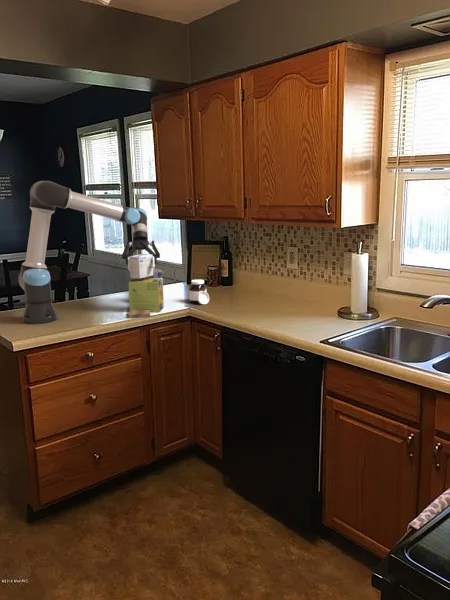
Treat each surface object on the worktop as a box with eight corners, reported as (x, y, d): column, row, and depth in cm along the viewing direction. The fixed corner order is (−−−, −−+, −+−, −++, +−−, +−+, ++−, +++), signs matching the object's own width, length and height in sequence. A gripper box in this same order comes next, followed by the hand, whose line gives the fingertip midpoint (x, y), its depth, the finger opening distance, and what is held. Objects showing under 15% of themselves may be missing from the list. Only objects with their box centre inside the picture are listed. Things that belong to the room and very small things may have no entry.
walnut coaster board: (128, 317, 250) (128, 314, 250) (129, 313, 258) (128, 310, 257) (149, 316, 251) (149, 313, 251) (149, 312, 259) (149, 309, 259)
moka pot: (158, 305, 275) (157, 267, 270) (135, 302, 282) (134, 265, 278) (169, 301, 283) (168, 265, 279) (146, 299, 290) (145, 263, 286)
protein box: (160, 312, 260) (158, 281, 256) (129, 312, 261) (127, 281, 258) (164, 307, 270) (163, 277, 266) (134, 307, 271) (133, 277, 268)
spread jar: (196, 299, 288) (195, 278, 286) (214, 301, 283) (214, 280, 281) (185, 304, 278) (184, 282, 275) (204, 306, 273) (203, 283, 270)
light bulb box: (143, 274, 269) (142, 253, 266) (154, 275, 265) (153, 254, 263) (129, 277, 260) (128, 255, 258) (140, 278, 256) (139, 256, 254)
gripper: (163, 238, 276) (165, 272, 264) (117, 239, 272) (117, 274, 261) (163, 229, 269) (165, 263, 258) (116, 230, 266) (116, 265, 254)
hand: (141, 268), depth 259 cm, fingers closed on light bulb box, 11 cm apart
